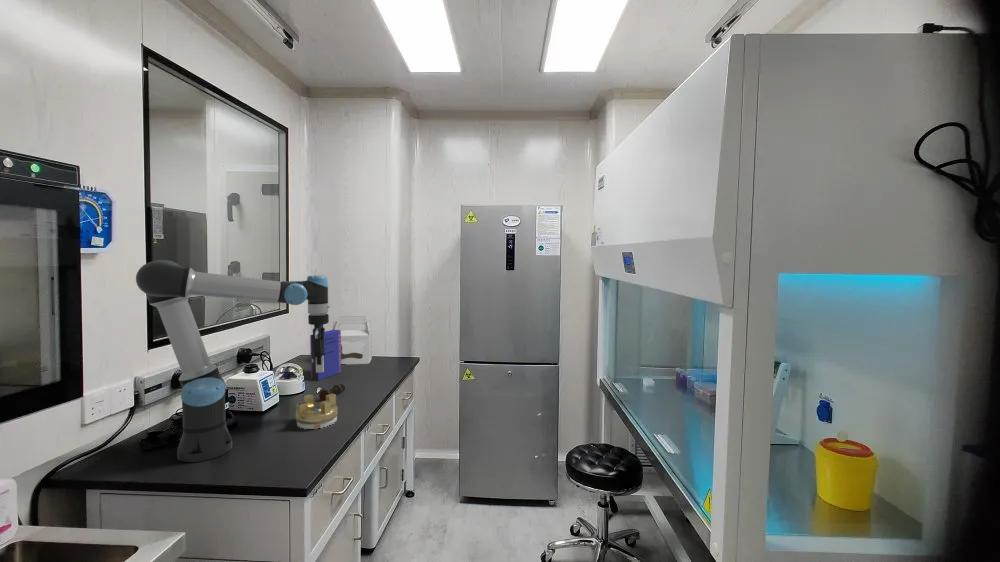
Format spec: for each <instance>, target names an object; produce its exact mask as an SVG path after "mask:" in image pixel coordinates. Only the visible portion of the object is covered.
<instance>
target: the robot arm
mask: <svg viewBox="0 0 1000 562" xmlns="http://www.w3.org/2000/svg"><path fill="white" fill-rule="evenodd" d="M306 278H307V279H306V280H298V281H297V280H296V281H295V280H291V281H289V280H287V281H283V280H282V281H281V280H280V281H278V280H270V279H269V280H268V279H261V278H254V277H252V278H251V277H244V276H235V275H227V274H218V273H210V272H200V271H195V270H194V269H193V268H192V267H186V266H181V265H180V264H178V263H177V262H174V261H172V260H168V259H158V260H154V261H150V262H146V263H145V264H143V265H142V266H141V267H140V268H139V269H138V270H137V272H136V275H135V283H136V285H137V287H138V289H140V291H142V293H144V294H145V295H146V298H147V300H148V303H149V305H150V306H152V307H155V308H156V309H157V310H158V313H159V317H160V319H161V321H162V325H163V326H164V329H165V332H166V334H167V335H166V336H167V337H168V339H169V340H168V341H169V343H170V346H171V348H172V350H173V352H174V355H175V358H176V361H177V363H178V365H179V369H180V371H181V374H180V376H179V378H178V381H179V384H180V386H181V394H180V400H181V404H182V406H181V408H182V410H181V411H182V435H181V438H180V441H179V443H178V447H177V450H176V458H177V460H178V461H180V462H184V463H199V462H204V461H209V460H212V459H215V458H218V457H221V456H223V455H224V454H227V453H228V452H229V451H231V450H232V448H233V438H232V436H231V434H230V432H229V429H228V427H227V424H226V382H225V380H224V379H223V377H222V375H221V373H220V370H219V368H218V365H216V364H214V363H212V362H211V361H210V357H209V355H208V352H207V350H206V346H205V343H204V341H203V339H202V338H203V337H202V336H201V333H200V331H199V327H198V325H197V322H196V320H195V317H194V314H193V312H192V309H191V306H190V303H189V298H190V296H201V297H213V298H224V299H234V300H235V299H237V300H244V301H245V300H246V301H257V302H267V303H268V302H270V303H280V304H281V303H282V304H289V305H292V306H299V305H301V304H303V303H304V302H306V301H307V314H308V316H307V317H308V324H309V325H310V326H313V328H312V335H313V341H314V356H313V357H316V373H319V372H324V360H323V355H325V353H323V352H324V332H326V328H325V327H324V325H326V324H329V322H330V320H329V317H330V316H329V315H330V314H328V313H329V309H330V307H331V306H330V305H329V285H328V284H329V281H328V277H327V276H326V275H319V274H318V275H317V274H316V275H308V276H307V277H306Z"/></svg>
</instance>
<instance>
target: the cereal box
mask: <svg viewBox="0 0 1000 562" xmlns="http://www.w3.org/2000/svg"><path fill="white" fill-rule="evenodd" d="M309 338H310V339H309V340H310V380H311V381H314V380H316V382H320V381H322V380H325V379H327V377H328V378H330V377H329V376H331V377H333V376H335V375H334V374H336V375H338V374H337V373H339V374H341V373H342V365H341V345H342V341H341V329H338V330H333V329H331V330H330V329H329V330H325V332H324V352H323V353H325V355H323V360H324V372H319V373H316V357H313V356H314V341H313V334H310V336H309ZM340 372H341V373H340ZM332 375H333V376H332ZM324 378H325V379H324ZM321 379H322V380H321ZM319 380H320V381H319Z"/></svg>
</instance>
